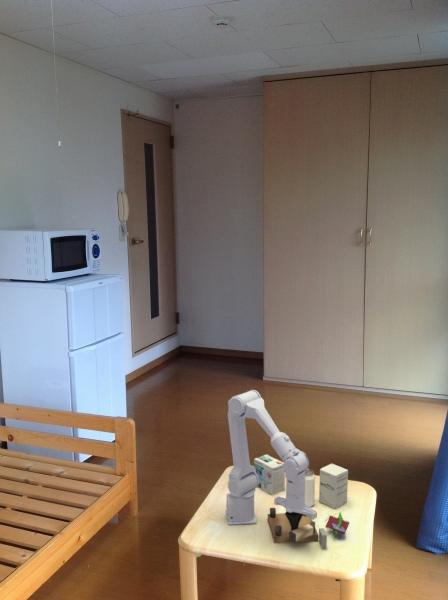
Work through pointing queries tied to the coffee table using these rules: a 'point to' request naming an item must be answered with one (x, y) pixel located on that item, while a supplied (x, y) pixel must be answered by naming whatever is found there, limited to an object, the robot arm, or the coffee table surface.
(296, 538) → the hinged leg
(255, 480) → the robot arm
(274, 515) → the stool seat
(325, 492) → the supplement box
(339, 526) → the geometric puzzle
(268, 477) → the light bulb box
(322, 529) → the block
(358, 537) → the coffee table surface
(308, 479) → the can
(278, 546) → the coffee table surface
